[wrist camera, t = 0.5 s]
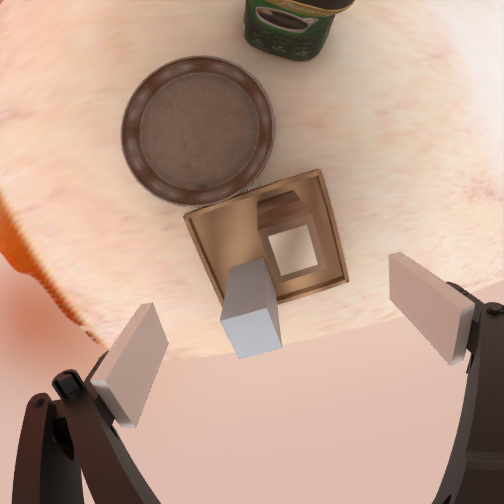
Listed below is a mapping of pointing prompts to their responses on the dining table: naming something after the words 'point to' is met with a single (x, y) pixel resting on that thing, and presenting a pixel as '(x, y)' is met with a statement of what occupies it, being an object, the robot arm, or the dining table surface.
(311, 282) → the parts tray
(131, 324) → the robot arm
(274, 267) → the labelled carton
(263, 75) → the dining table surface
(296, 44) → the coffee jar
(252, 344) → the plain carton
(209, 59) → the plant saucer
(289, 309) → the dining table surface
